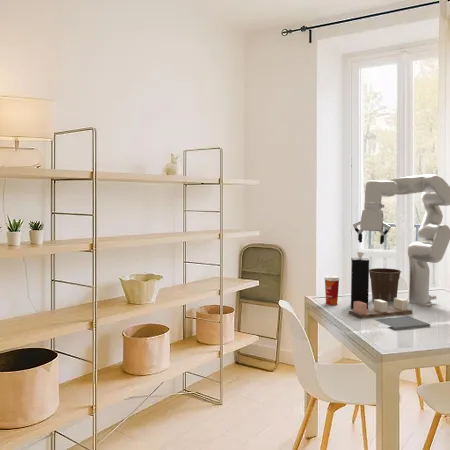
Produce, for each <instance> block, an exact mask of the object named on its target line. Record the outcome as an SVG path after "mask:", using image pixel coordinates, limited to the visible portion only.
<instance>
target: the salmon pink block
mask: <svg viewBox="0 0 450 450" xmlns="http://www.w3.org/2000/svg"><path fill="white" fill-rule="evenodd" d="M352 310H353V311H355V312H358V313H360V314H367V304H366V303H364V302H361V301H354V306H353V309H352Z"/></svg>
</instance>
